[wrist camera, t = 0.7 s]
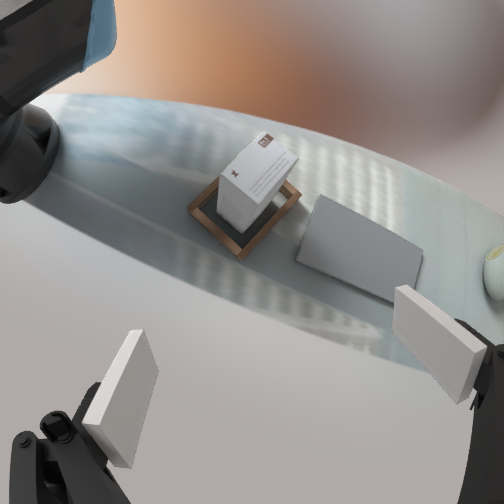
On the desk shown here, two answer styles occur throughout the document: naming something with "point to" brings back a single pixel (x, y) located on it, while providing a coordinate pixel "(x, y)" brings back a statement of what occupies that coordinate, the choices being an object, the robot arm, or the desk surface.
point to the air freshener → (494, 273)
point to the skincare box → (253, 181)
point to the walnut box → (226, 240)
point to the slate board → (358, 250)
